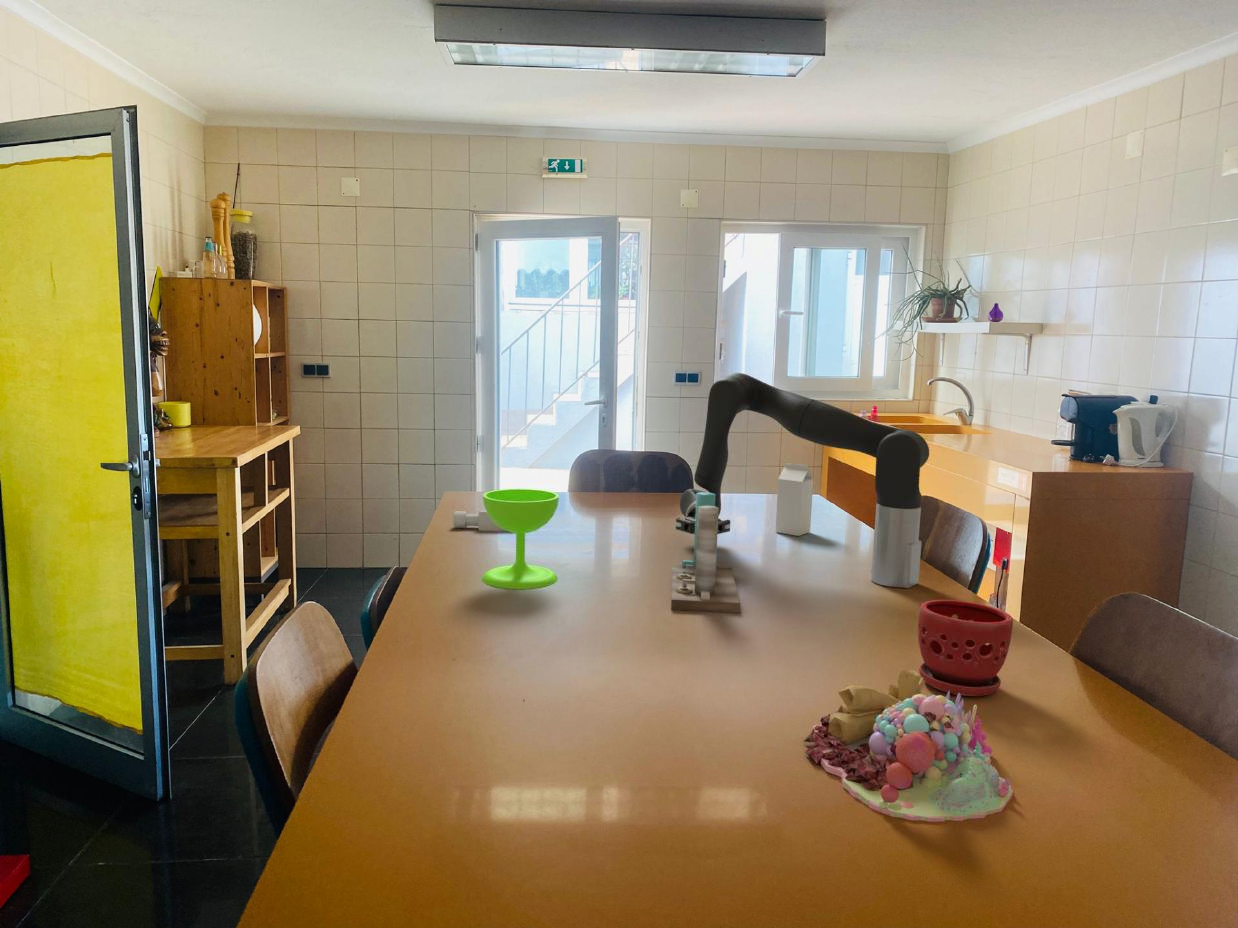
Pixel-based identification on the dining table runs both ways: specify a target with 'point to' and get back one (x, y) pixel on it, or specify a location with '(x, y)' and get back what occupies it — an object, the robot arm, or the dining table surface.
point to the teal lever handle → (701, 500)
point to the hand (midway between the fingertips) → (703, 532)
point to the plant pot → (963, 646)
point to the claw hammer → (475, 521)
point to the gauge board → (715, 601)
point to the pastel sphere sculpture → (910, 753)
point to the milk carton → (794, 500)
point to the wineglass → (520, 534)
